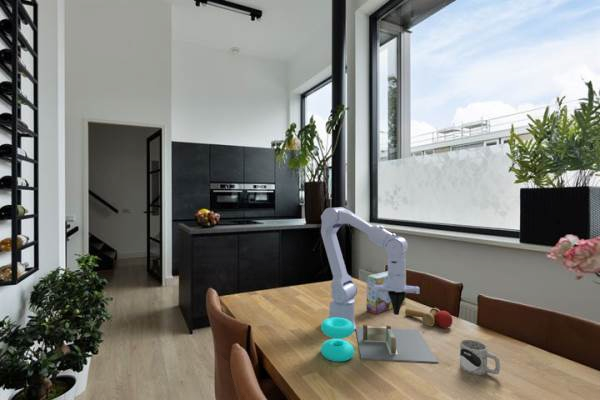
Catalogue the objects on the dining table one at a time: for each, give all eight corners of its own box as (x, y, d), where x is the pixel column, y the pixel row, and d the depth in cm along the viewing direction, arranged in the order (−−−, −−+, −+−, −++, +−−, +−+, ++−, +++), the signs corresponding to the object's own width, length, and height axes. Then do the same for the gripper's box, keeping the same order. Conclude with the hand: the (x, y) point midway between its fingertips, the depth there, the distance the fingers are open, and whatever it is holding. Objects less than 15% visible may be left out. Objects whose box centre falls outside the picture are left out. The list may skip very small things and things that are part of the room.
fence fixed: (363, 341, 105) (363, 326, 105) (362, 339, 107) (363, 324, 106) (391, 343, 104) (391, 327, 104) (390, 341, 106) (390, 325, 106)
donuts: (357, 328, 92) (323, 329, 91) (357, 363, 92) (323, 364, 91) (350, 315, 102) (319, 316, 101) (350, 346, 102) (319, 347, 101)
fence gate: (387, 341, 104) (387, 327, 104) (391, 341, 104) (391, 327, 104) (391, 353, 96) (391, 339, 96) (396, 353, 96) (396, 339, 96)
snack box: (376, 315, 128) (376, 278, 128) (365, 311, 133) (366, 275, 133) (406, 304, 142) (406, 270, 142) (395, 300, 146) (395, 268, 146)
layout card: (361, 359, 94) (361, 357, 94) (355, 328, 116) (355, 326, 116) (438, 363, 92) (438, 361, 92) (418, 330, 114) (418, 329, 114)
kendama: (401, 321, 125) (446, 330, 112) (401, 305, 127) (445, 311, 113) (412, 320, 130) (456, 328, 117) (411, 304, 131) (455, 310, 118)
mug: (455, 367, 90) (455, 343, 90) (466, 359, 94) (467, 337, 94) (494, 383, 82) (494, 358, 82) (504, 375, 86) (505, 350, 86)
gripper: (376, 275, 103) (375, 317, 104) (422, 277, 102) (421, 319, 102) (373, 270, 110) (373, 309, 111) (416, 271, 109) (416, 311, 109)
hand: (396, 313), depth 107 cm, fingers closed
